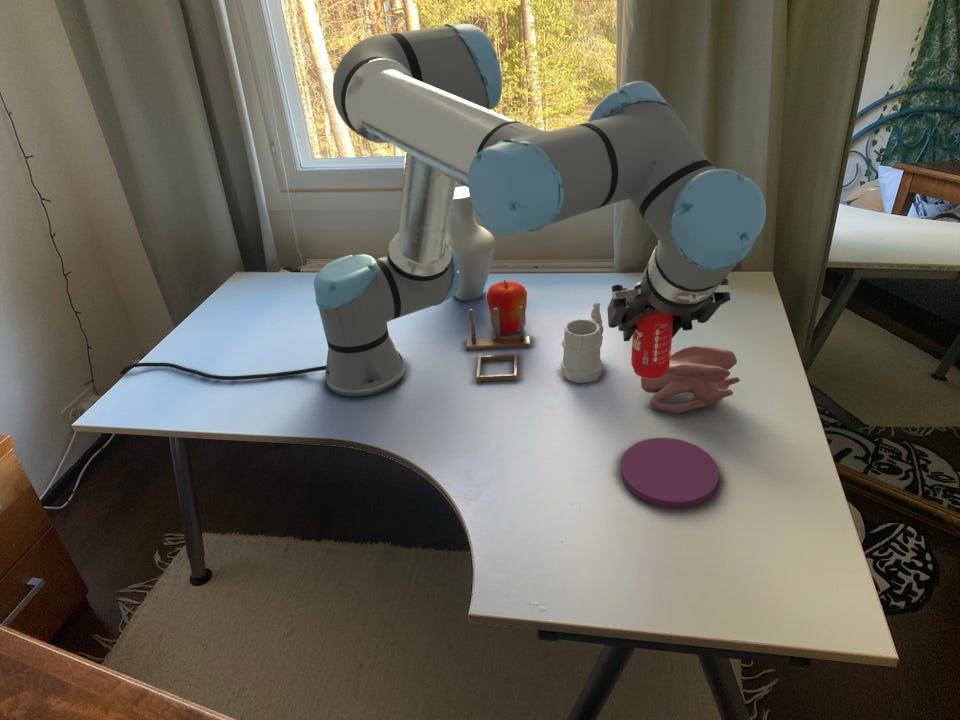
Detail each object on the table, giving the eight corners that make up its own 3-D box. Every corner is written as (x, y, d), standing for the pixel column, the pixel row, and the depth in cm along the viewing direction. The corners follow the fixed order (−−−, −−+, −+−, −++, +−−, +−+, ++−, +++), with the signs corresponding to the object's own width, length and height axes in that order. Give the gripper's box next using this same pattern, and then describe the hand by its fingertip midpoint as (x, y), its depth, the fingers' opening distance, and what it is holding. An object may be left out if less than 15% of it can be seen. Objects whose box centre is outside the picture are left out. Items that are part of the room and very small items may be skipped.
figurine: (652, 429, 108) (737, 418, 98) (628, 380, 106) (712, 363, 96) (676, 393, 117) (756, 379, 106) (654, 346, 114) (734, 328, 104)
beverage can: (662, 384, 85) (668, 305, 79) (625, 375, 87) (628, 298, 81) (673, 365, 89) (680, 288, 82) (638, 357, 91) (642, 282, 85)
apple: (507, 344, 129) (504, 292, 123) (480, 331, 135) (476, 281, 128) (536, 328, 134) (534, 278, 127) (509, 316, 139) (506, 267, 133)
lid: (609, 493, 91) (609, 487, 90) (632, 435, 101) (633, 429, 101) (710, 519, 85) (711, 512, 85) (724, 455, 96) (725, 449, 95)
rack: (531, 379, 118) (529, 340, 113) (462, 382, 119) (458, 343, 114) (529, 339, 130) (528, 302, 126) (467, 342, 131) (463, 306, 127)
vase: (426, 300, 149) (412, 197, 136) (462, 277, 159) (452, 179, 146) (475, 313, 142) (465, 206, 128) (510, 288, 151) (504, 186, 138)
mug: (553, 377, 117) (552, 321, 111) (582, 348, 125) (582, 294, 119) (591, 388, 113) (592, 331, 107) (618, 357, 121) (620, 302, 115)
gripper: (598, 310, 66) (583, 359, 89) (776, 301, 65) (715, 353, 87) (594, 244, 68) (580, 309, 91) (767, 234, 66) (709, 302, 89)
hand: (646, 330), depth 89 cm, fingers closed on beverage can, 5 cm apart
